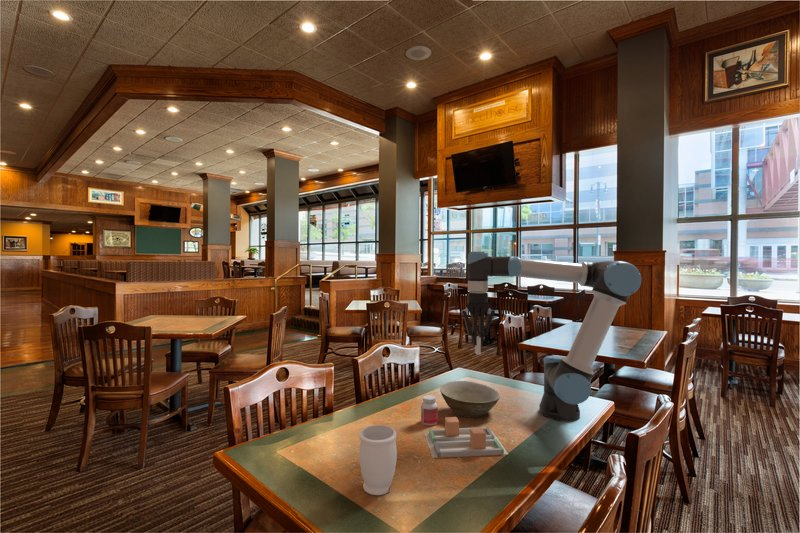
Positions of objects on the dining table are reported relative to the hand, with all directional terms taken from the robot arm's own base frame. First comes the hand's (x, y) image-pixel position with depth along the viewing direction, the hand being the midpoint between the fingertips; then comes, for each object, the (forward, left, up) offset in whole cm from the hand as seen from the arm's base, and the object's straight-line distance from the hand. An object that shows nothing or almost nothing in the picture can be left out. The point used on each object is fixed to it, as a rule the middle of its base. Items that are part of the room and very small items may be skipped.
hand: (477, 353), depth 146 cm
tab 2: (+7, +23, -25) cm, 35 cm away
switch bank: (+10, +19, -26) cm, 34 cm away
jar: (+39, +38, -27) cm, 61 cm away
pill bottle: (+19, +2, -27) cm, 33 cm away
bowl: (+1, -8, -27) cm, 28 cm away
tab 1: (+13, +14, -25) cm, 32 cm away
